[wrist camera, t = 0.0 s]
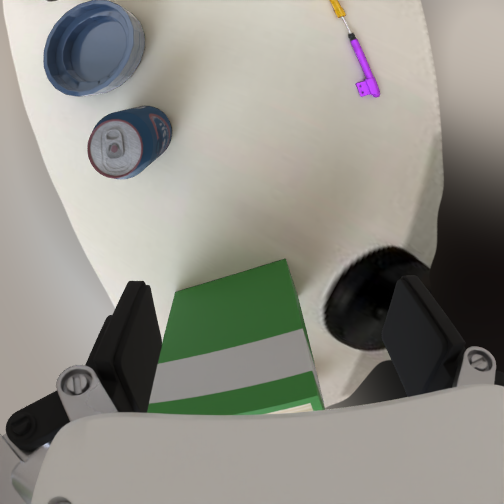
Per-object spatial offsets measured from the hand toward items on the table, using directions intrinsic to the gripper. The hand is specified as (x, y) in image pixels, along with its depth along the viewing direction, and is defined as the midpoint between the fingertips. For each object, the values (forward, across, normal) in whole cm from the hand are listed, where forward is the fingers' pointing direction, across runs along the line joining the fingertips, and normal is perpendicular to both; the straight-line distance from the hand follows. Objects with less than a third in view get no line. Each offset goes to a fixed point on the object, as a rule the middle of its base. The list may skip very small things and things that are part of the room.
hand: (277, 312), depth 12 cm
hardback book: (+31, +2, +22) cm, 38 cm away
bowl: (+31, +19, -15) cm, 39 cm away
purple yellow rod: (+32, -12, -15) cm, 37 cm away
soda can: (+31, +13, -3) cm, 34 cm away
